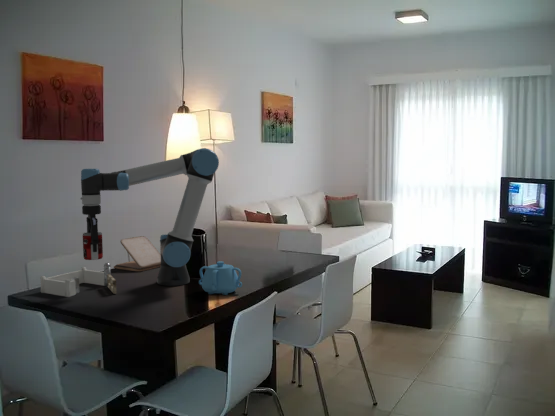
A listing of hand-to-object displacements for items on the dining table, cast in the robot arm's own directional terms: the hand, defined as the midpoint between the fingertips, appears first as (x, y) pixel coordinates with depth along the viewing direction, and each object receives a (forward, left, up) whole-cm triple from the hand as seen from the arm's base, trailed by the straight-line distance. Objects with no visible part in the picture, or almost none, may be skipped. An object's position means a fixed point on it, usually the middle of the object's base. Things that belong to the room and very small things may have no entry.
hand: (93, 257), depth 237 cm
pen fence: (+14, -3, -16) cm, 21 cm away
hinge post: (+6, -14, -16) cm, 22 cm away
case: (+24, -55, -16) cm, 62 cm away
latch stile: (+8, +3, -16) cm, 18 cm away
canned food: (0, 0, 0) cm, 0 cm away
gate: (-2, -8, -15) cm, 17 cm away
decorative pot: (-46, -29, -16) cm, 57 cm away
